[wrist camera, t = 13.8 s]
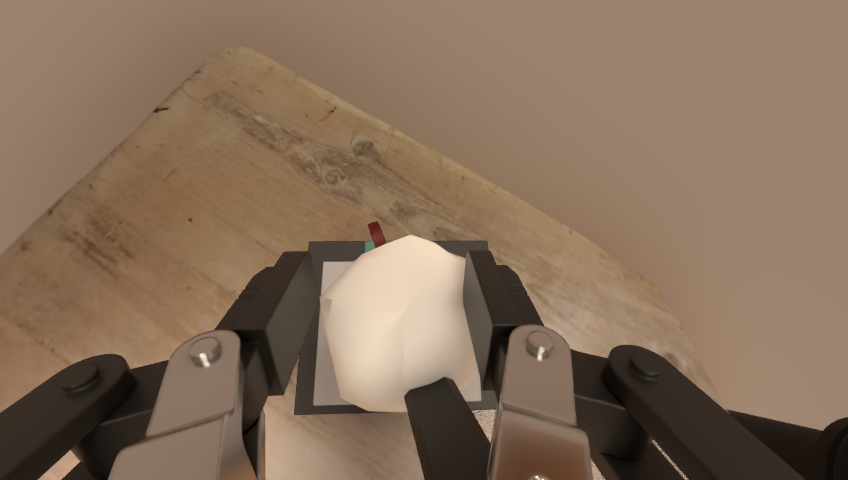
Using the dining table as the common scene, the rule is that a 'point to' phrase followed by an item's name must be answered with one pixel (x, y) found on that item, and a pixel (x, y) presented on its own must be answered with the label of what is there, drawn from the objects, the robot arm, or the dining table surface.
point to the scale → (315, 357)
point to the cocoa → (409, 348)
